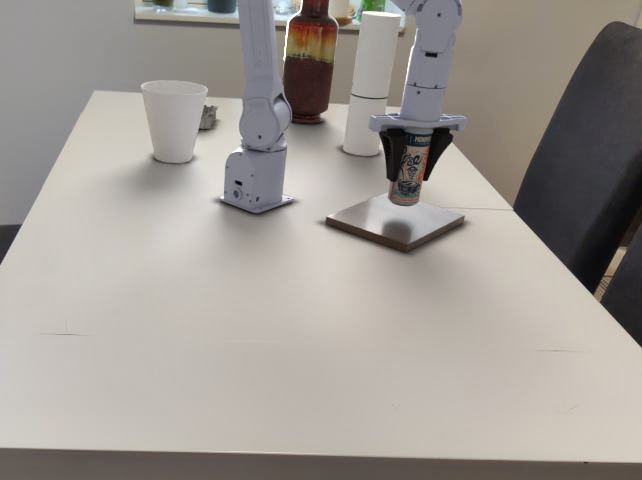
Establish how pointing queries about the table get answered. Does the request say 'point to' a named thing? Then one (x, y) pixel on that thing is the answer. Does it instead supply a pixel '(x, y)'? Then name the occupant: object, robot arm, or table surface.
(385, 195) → the serving board
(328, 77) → the vase
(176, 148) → the cup
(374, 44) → the cylindrical container
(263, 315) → the table surface
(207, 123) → the egg carton
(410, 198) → the beer can
